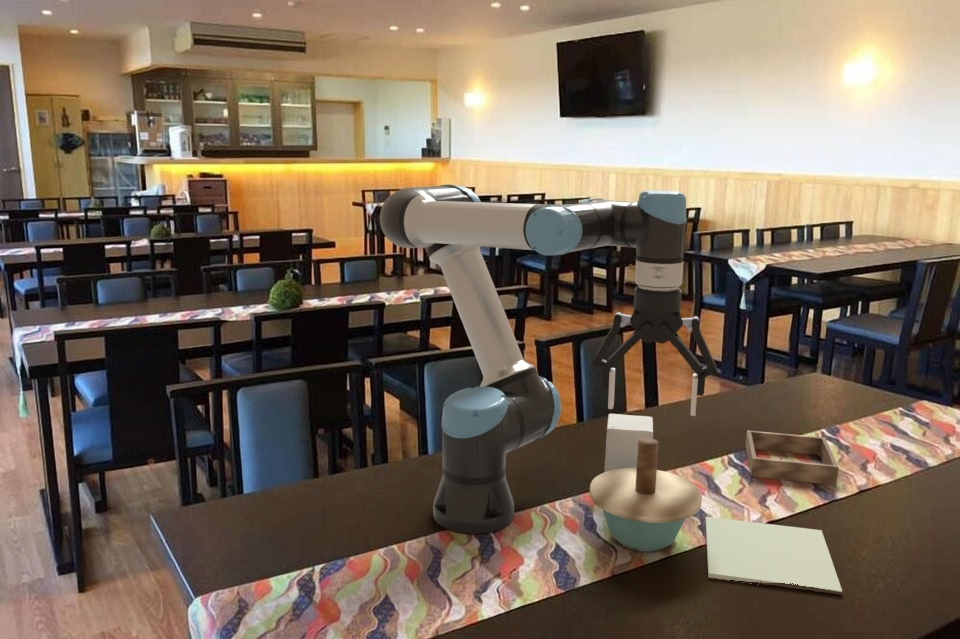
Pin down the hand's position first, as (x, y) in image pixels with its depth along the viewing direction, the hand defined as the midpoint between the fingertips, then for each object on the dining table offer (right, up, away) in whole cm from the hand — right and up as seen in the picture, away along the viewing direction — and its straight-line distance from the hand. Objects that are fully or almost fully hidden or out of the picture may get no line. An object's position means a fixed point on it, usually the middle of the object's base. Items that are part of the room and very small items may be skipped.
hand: (651, 410), depth 135 cm
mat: (+20, -25, +1) cm, 32 cm away
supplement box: (0, -19, +24) cm, 31 cm away
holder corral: (+38, -16, +38) cm, 56 cm away
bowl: (0, -24, +6) cm, 24 cm away
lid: (0, -15, +4) cm, 16 cm away
